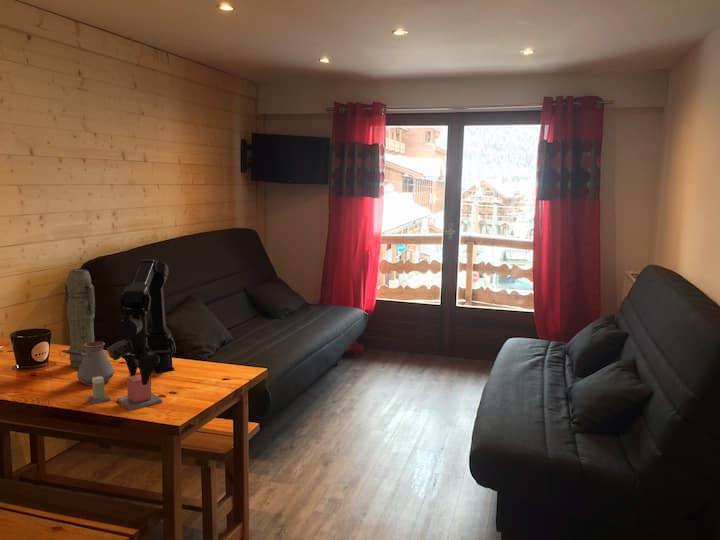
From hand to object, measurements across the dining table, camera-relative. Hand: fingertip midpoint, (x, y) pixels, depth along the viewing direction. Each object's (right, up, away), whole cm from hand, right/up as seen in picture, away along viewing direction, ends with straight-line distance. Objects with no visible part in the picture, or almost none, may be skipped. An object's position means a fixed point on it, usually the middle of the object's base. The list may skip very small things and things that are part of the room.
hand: (138, 380), depth 178 cm
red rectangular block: (0, -6, +1) cm, 6 cm away
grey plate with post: (0, -7, +1) cm, 7 cm away
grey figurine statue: (-33, -1, +34) cm, 48 cm away
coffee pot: (-22, -5, +14) cm, 26 cm away
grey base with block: (-13, -6, +2) cm, 14 cm away
